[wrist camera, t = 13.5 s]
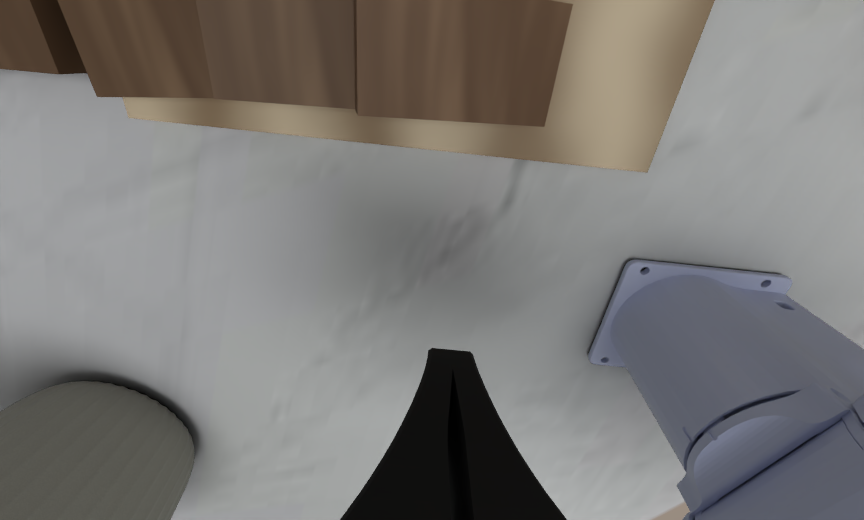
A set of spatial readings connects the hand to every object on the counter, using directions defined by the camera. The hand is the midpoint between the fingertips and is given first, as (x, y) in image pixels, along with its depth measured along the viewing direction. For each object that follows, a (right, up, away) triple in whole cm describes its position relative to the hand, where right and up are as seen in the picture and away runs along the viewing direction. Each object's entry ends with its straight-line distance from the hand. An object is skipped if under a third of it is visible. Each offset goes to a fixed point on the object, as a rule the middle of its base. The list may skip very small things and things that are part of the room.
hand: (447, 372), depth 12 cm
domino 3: (-7, +13, +4) cm, 15 cm away
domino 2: (-1, +12, +4) cm, 13 cm away
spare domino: (+4, +12, +4) cm, 13 cm away
